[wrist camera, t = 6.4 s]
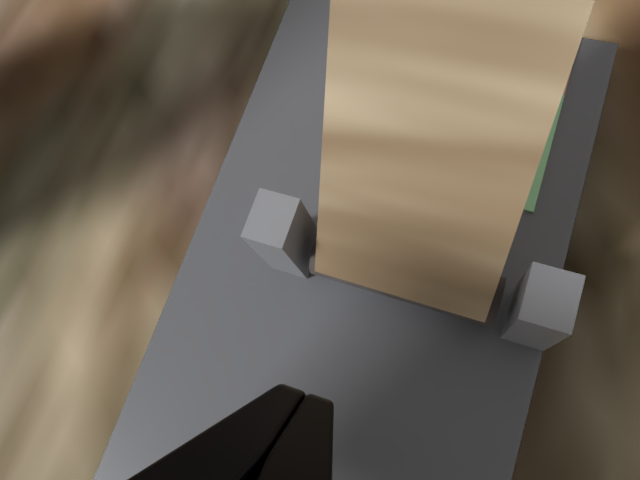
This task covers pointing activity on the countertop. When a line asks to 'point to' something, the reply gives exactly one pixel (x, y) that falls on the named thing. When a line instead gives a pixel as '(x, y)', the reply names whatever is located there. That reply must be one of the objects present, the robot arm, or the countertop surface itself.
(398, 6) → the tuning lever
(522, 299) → the base
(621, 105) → the countertop surface
